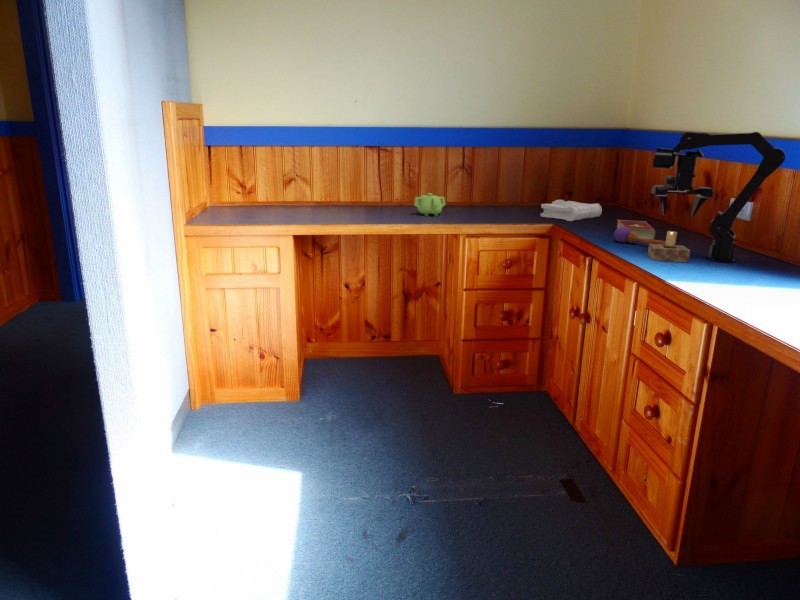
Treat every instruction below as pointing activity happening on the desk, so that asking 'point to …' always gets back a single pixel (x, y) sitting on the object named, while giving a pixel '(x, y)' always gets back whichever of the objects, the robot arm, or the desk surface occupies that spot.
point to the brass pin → (670, 239)
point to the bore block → (668, 253)
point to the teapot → (429, 204)
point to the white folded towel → (571, 210)
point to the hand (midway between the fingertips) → (678, 216)
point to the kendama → (632, 237)
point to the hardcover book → (638, 228)
